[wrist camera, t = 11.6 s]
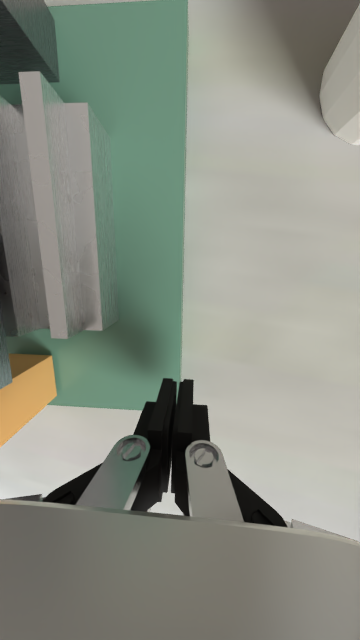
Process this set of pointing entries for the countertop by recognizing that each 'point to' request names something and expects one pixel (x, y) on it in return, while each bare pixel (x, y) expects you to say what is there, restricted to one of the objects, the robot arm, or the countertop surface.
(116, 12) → the circuit board
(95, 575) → the robot arm
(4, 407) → the block
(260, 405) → the countertop surface
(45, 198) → the heat sink
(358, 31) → the white grey cylinder
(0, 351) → the strap
